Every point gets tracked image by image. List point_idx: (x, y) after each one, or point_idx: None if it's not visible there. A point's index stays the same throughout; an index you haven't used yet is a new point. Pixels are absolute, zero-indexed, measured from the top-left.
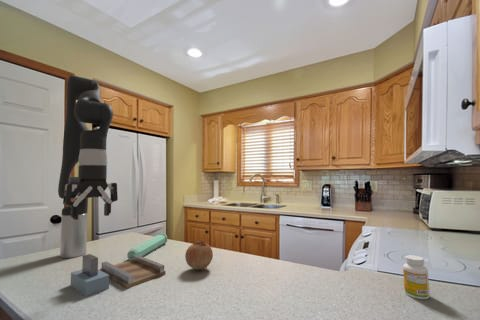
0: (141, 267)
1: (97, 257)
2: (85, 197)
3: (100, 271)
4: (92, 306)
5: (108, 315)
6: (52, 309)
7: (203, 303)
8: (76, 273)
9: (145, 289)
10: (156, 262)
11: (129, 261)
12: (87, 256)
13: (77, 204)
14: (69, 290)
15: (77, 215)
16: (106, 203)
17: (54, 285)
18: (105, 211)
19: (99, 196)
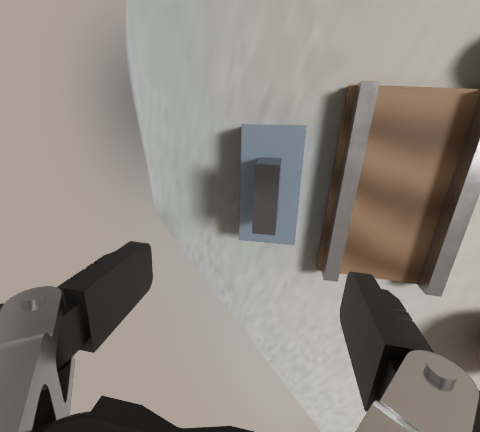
0: (428, 201)
1: (274, 231)
2: (100, 406)
3: (295, 197)
4: (234, 276)
5: (238, 322)
6: (185, 225)
7: (347, 416)
8: (247, 151)
9: (334, 304)
10: (454, 258)
11: (465, 98)
12: (260, 190)
13: (67, 373)
14: (233, 160)
15: (133, 301)
16: (383, 391)
17: (220, 86)
18: (352, 313)
19: (359, 427)
